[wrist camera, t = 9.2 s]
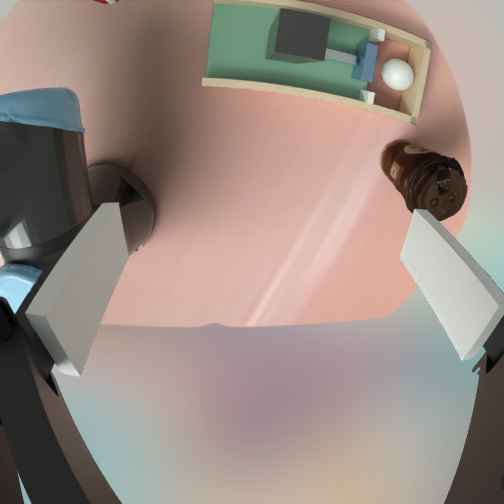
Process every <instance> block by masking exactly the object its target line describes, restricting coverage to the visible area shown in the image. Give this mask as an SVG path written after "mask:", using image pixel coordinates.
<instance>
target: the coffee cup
mask: <svg viewBox="0 0 504 504" xmlns="http://www.w3.org/2000/svg"><path fill="white" fill-rule="evenodd" d="M380 167H381V169H382V170H383V172H384V174H385V175H386V176H387V177H388V178H389V180H390V181H391V182H392V184H393V185H395V187H396V189H397V190H398V191H399V192H400V193H401V194H402V196H403V198H404V200H405V202H406V206H407V208H408V210H409V211H410V212H411V213H412V214H413V212H414V209H422V210H427V211H428V212H429V213H430V214H432V215H433V216H434V217H435V218H436V219H437V220H438V221H443V220H445V219H446V218H449V217H451V216H453V215H454V214H456V213H457V212H458V211H459V210H460V209H461V207H462V205H463V204H464V201H465V198H466V194H467V185H466V180H465V178H464V173H463V170H462V168H461V166H460V164H459V163H458V161H457V160H455V158H449V157H446V156H442V155H440V154H438V153H436V152H433V151H431V150H428V149H425V148H423V147H421V146H418V145H413V144H410V143H409V142H405V141H394V142H392V143H390V144H388V145H386V146H385V148H384V150H383V152H382V153H381V157H380Z"/></svg>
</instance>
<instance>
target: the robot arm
mask: <svg viewBox="0 0 504 504" xmlns="http://www.w3.org/2000/svg"><path fill="white" fill-rule="evenodd" d="M83 133H85V129H84V128H83V127H82V121H81V114H80V105H79V99H78V97H77V95H76V94H75V93H74V92H73V91H72V90H70V89H68V88H61V87H59V88H41V89H32V90H25V91H18V92H13V93H7V94H3V95H0V251H1V254H2V257H3V259H4V265H3V266H1V268H0V504H24V501H23V496H22V492H21V487H20V482H19V477H18V473H19V476H20V478H21V481H22V483H23V486H24V488H25V490H26V492H27V495H28V497H29V499H30V501H31V503H32V504H122V503H121V501H120V500H119V499H118V497H117V496H116V494H115V493H114V491H113V490H112V488H111V487H110V485H109V484H108V482H107V480H106V479H105V477H104V476H103V474H102V472H101V471H100V469H99V467H98V466H97V464H96V462H95V461H94V459H93V457H92V455H91V454H90V452H89V450H88V448H87V446H86V444H85V443H84V441H83V439H82V437H81V435H80V433H79V431H78V429H77V427H76V425H75V423H74V421H73V419H72V416H71V414H70V412H69V410H68V408H67V405H66V403H65V401H64V399H63V396H62V394H61V392H60V389H59V386H58V384H57V382H56V379H55V377H54V375H53V374H52V372H51V370H52V367H53V365H54V363H55V364H56V366H57V367H58V368H59V370H60V371H61V373H64V374H68V375H74V376H80V377H81V374H82V371H83V369H84V366H85V363H86V360H87V357H88V354H89V351H90V349H91V346H92V343H93V341H94V338H95V335H96V333H97V330H98V328H99V325H100V322H101V320H102V317H103V315H104V312H105V310H106V308H107V305H108V303H109V300H110V298H111V296H112V293H113V291H114V289H115V286H116V284H117V282H118V280H119V277H120V275H121V273H122V271H123V268H124V266H125V264H126V262H127V260H128V258H129V256H130V255H132V254H134V253H135V252H137V251H138V250H139V249H140V248H141V247H142V246H143V245H144V244H145V242H146V241H147V239H148V237H149V235H150V233H151V231H152V229H153V226H154V221H155V209H154V204H153V200H152V197H151V195H150V193H149V191H148V189H147V188H146V186H145V185H144V184H143V182H142V181H141V180H140V179H139V178H138V177H137V176H136V175H134V174H133V173H132V172H130V171H129V170H127V169H125V168H123V167H120V166H117V165H113V164H98V165H94V166H91V167H89V168H87V162H86V153H85V144H84V134H83ZM399 258H400V260H401V261H402V263H403V264H404V266H405V267H406V268H407V270H408V271H409V273H410V274H411V276H412V277H413V279H414V280H415V282H416V283H417V285H418V287H419V288H420V290H421V291H422V293H423V294H424V296H425V298H426V299H427V300H428V302H429V304H430V306H431V307H432V309H433V310H434V312H435V314H436V315H437V317H438V319H439V320H440V322H441V324H442V325H443V327H444V329H445V331H446V332H447V334H448V336H449V338H450V340H451V341H452V343H453V345H454V347H455V349H456V351H457V352H458V354H459V356H460V358H461V360H466V359H470V358H473V357H475V356H476V355H477V353H478V352H479V351H480V349H481V348H482V347H484V348H485V350H486V352H485V354H484V355H483V356H482V358H481V359H480V360H479V361H478V363H477V364H476V365H475V366H474V368H473V370H472V372H475V371H476V369H477V368H478V367H481V368H480V370H479V371H478V373H477V374H478V375H479V382H478V388H477V394H476V399H475V404H474V409H473V414H472V418H471V423H470V426H469V431H468V434H467V438H466V442H465V445H464V449H463V452H462V456H461V459H460V462H459V465H458V468H457V471H456V474H455V477H454V480H453V482H452V485H451V488H450V490H449V493H448V495H447V498H446V500H445V503H444V504H504V294H503V292H502V291H501V290H500V288H499V287H498V286H497V285H496V283H495V282H494V281H493V280H492V279H491V277H490V276H489V275H488V274H487V273H486V271H485V270H484V269H483V268H482V267H481V266H480V265H479V264H478V263H477V262H476V261H475V259H474V258H473V257H472V256H471V255H470V254H469V253H468V252H467V250H466V249H465V248H464V247H463V246H462V245H461V244H460V243H459V242H458V241H457V240H456V239H455V238H454V237H453V236H452V234H451V233H450V232H449V231H448V230H447V229H446V228H445V227H444V226H443V225H442V224H441V223H440V222H439V221H438V220H437V219H436V218H435V217H434V216H433V215H432V214H430V213H429V212H428V211H427V210H422V209H414V212H413V215H412V219H411V222H410V225H409V229H408V232H407V235H406V238H405V241H404V245H403V248H402V251H401V254H400V256H399Z"/></svg>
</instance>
